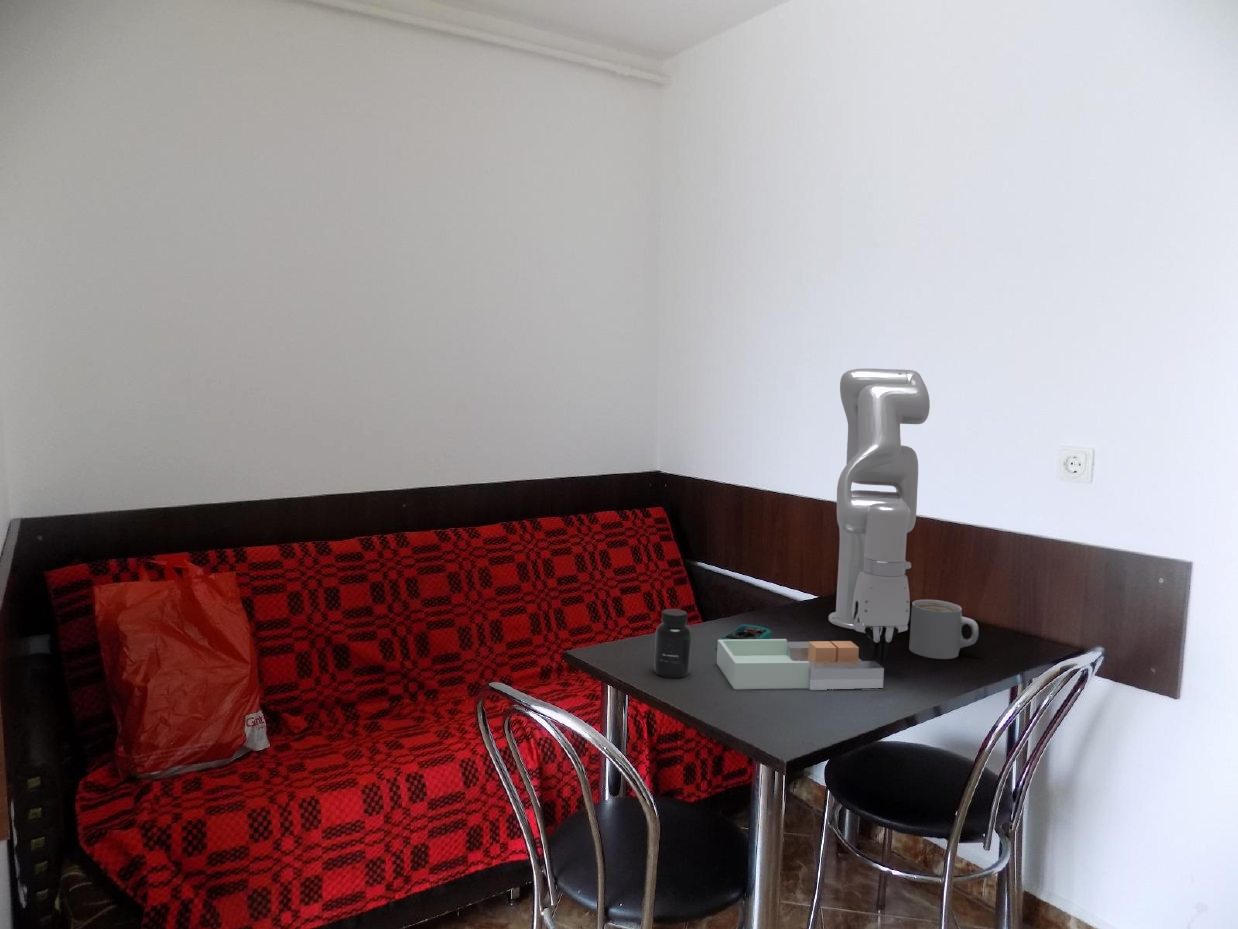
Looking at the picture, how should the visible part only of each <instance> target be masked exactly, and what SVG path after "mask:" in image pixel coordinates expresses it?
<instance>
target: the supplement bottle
mask: <svg viewBox="0 0 1238 929" xmlns="http://www.w3.org/2000/svg"><path fill="white" fill-rule="evenodd" d="M687 623H688V613H687V611H686V610H681V609H676V608H669V609H664V610H662V612H661V623H660V624H659V625H658V626H657V627H656V630H655V640H654V641H655V643H654V644H655V645H654V664H653V670H654V672H655V674H657V675H658V676H659V675H660V677H662V678H668V679H682V678H685V677H686V676H688V675H689V673H690V663H691V646H692V630H691V628H690V627H689V626H688V625H687Z"/></svg>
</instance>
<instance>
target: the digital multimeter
mask: <svg viewBox="0 0 1238 929" xmlns="http://www.w3.org/2000/svg"><path fill="white" fill-rule="evenodd" d="M727 639H772V631H771V630H770V629H769V628H767V627H763V626H760V625H753V624H741V625H739V626H738V627H737V628H735V629H734V630H732V631H731V632H729V633H726V635H724V636H723V637H721V638H719V639H718V640H727ZM718 640H716V650H717V646H718Z"/></svg>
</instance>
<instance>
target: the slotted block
mask: <svg viewBox="0 0 1238 929" xmlns="http://www.w3.org/2000/svg"><path fill="white" fill-rule="evenodd" d="M829 642H830V643H831V641H829ZM808 652H809V641H787V654H786V655H787V656H788V657H789V658H790V659H791V660H792V661H808ZM884 672H885V668H884V667H883V666H882V665H880V664H879V662H876V661H875V660H862V659H860V658H859V657H858V661H837V662H809V682H808V688H807V689H808V690H809V691H828V690H827V689H830V690H829V691H834V690H833V689H854V688H883V689H884V676H885V673H884ZM831 689H832V690H831Z"/></svg>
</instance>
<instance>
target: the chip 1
mask: <svg viewBox="0 0 1238 929" xmlns="http://www.w3.org/2000/svg"><path fill="white" fill-rule="evenodd" d="M808 642H809V652H808V662H836V647H835V646H834V645H833V644H831V643H830V642H831V641H828V640H826V641H825V640H824V641H823V640H822V641H821V640H818V641H817V640H816V641H815V640H814V641H808Z"/></svg>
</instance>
